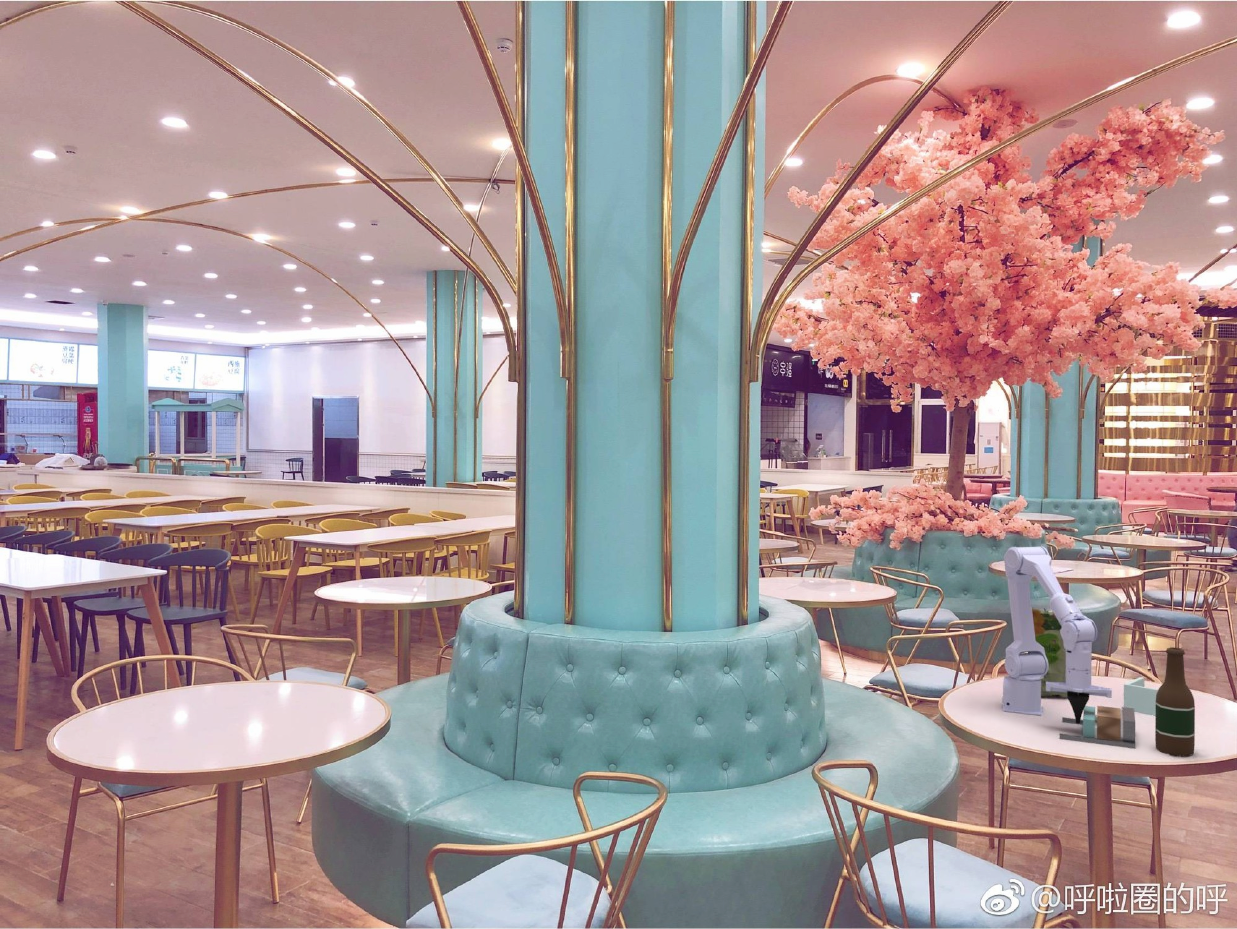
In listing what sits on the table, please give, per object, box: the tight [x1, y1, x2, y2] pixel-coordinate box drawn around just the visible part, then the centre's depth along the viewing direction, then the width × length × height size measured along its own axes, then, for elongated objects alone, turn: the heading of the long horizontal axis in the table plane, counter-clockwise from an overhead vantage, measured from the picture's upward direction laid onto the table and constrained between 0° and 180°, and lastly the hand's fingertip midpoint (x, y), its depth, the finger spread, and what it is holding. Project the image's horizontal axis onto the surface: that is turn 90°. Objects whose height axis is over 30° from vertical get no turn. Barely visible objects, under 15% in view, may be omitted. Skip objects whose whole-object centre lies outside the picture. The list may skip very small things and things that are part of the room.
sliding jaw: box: [1082, 705, 1097, 738], centre depth 227 cm, size 3×13×5 cm, turn 152°
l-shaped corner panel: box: [1123, 676, 1159, 717], centre depth 248 cm, size 12×12×8 cm
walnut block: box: [1096, 705, 1121, 741], centre depth 226 cm, size 5×10×6 cm, turn 152°
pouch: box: [1027, 607, 1068, 699], centre depth 264 cm, size 11×12×25 cm
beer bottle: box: [1154, 646, 1196, 758], centre depth 214 cm, size 8×8×24 cm
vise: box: [1059, 706, 1136, 750], centre depth 227 cm, size 16×16×6 cm
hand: (1078, 722), depth 229 cm, fingers closed
